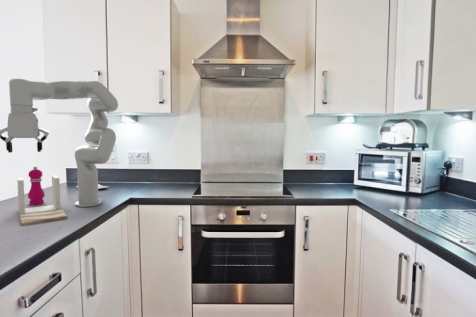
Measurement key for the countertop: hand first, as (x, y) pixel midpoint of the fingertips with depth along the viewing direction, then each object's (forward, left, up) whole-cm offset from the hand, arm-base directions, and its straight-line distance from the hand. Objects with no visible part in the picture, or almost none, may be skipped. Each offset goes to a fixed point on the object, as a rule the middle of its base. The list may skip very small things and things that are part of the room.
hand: (25, 152), depth 115 cm
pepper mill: (-31, -20, -30) cm, 48 cm away
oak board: (-7, +1, -30) cm, 31 cm away
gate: (-19, -9, -30) cm, 37 cm away
